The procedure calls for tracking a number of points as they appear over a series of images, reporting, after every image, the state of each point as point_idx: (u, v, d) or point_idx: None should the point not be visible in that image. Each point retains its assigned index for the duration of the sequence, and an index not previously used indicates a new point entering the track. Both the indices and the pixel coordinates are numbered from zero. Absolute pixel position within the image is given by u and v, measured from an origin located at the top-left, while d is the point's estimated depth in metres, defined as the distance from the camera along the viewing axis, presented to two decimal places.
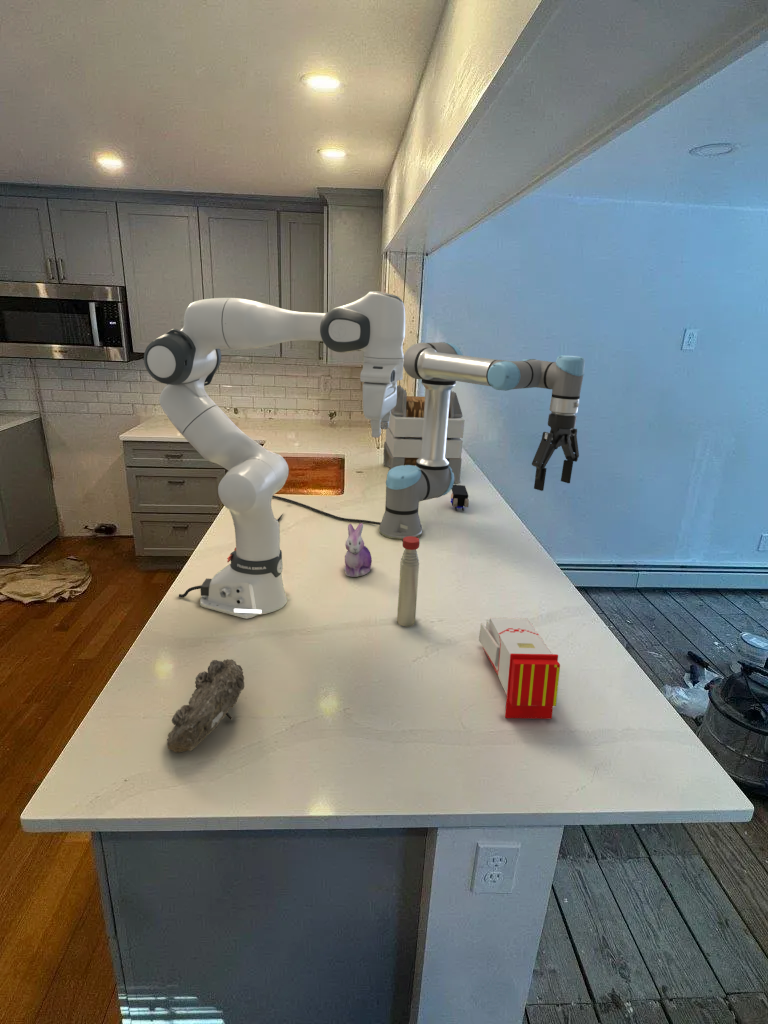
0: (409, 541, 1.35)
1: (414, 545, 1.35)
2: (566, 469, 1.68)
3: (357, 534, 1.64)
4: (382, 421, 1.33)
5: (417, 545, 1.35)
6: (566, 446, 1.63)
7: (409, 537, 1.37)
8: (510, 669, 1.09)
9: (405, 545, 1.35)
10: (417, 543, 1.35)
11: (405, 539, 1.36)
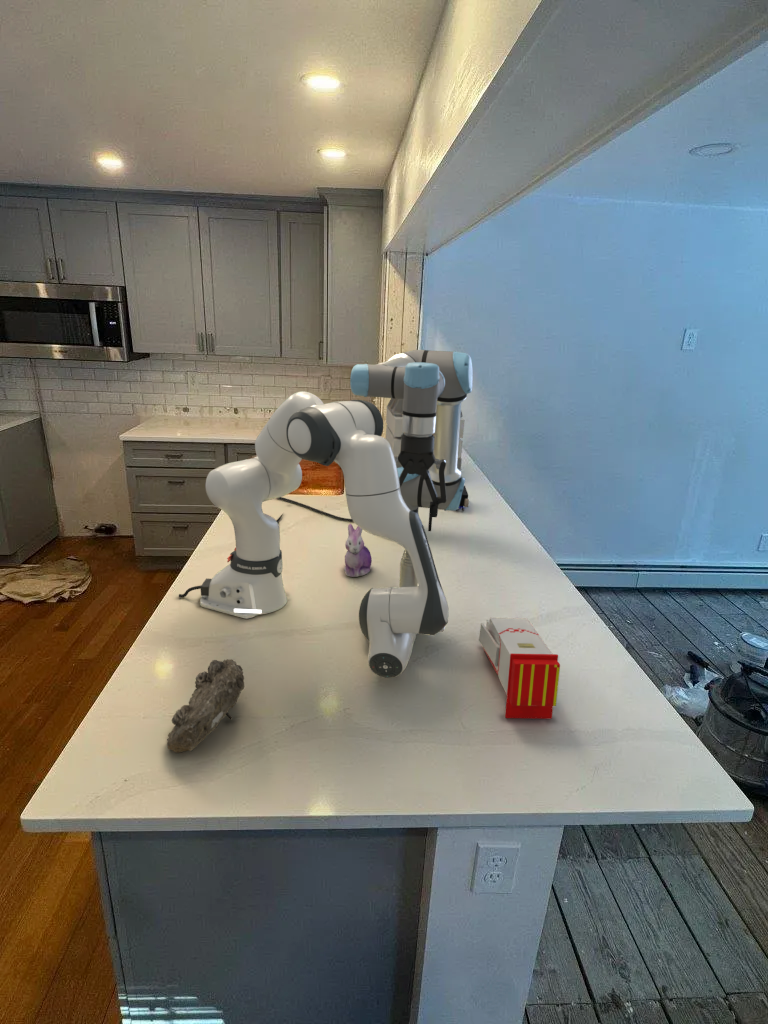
0: None
1: None
2: None
3: (357, 534, 1.64)
4: None
5: None
6: None
7: None
8: (510, 669, 1.09)
9: None
10: None
11: None
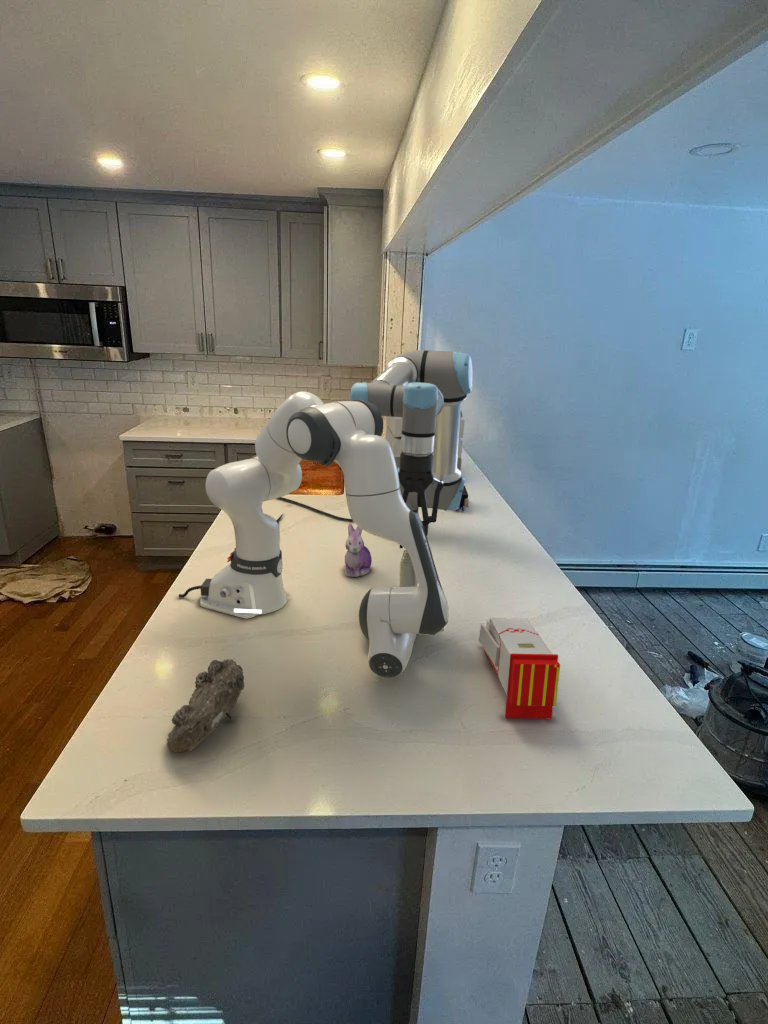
0: None
1: None
2: None
3: (357, 534, 1.64)
4: None
5: None
6: None
7: None
8: (510, 669, 1.09)
9: None
10: None
11: None
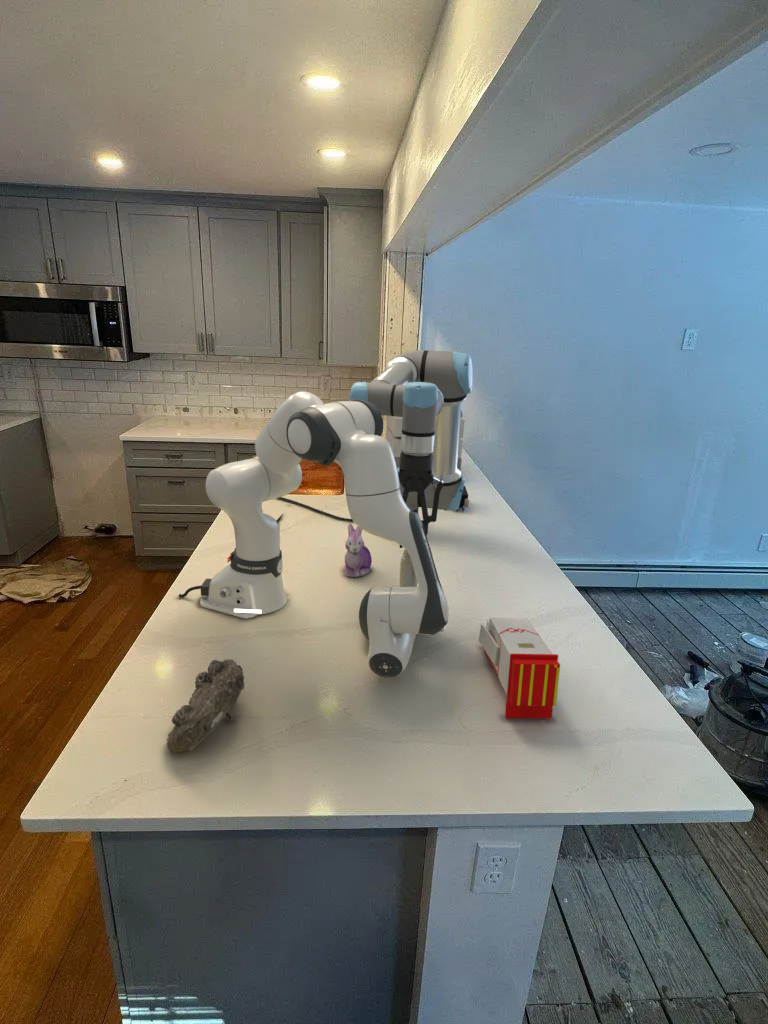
0: None
1: None
2: None
3: (357, 534, 1.64)
4: None
5: None
6: None
7: None
8: (510, 669, 1.09)
9: None
10: None
11: None
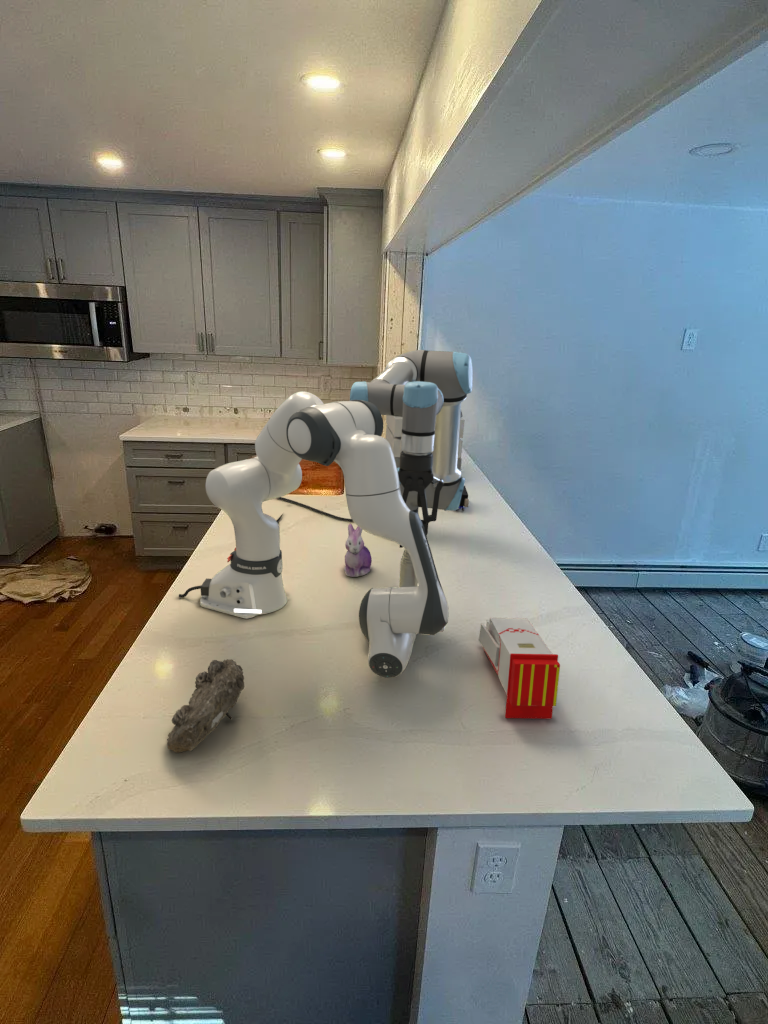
0: None
1: None
2: None
3: (357, 534, 1.64)
4: None
5: None
6: None
7: None
8: (510, 669, 1.09)
9: None
10: None
11: None
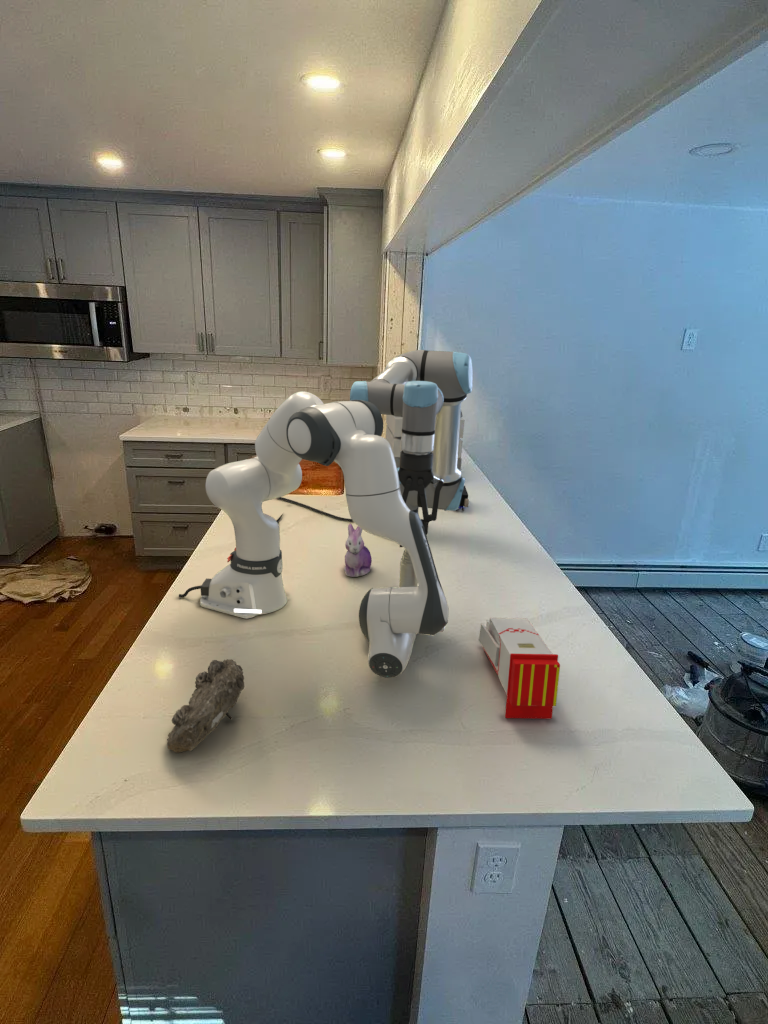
0: None
1: None
2: None
3: (357, 534, 1.64)
4: None
5: None
6: None
7: None
8: (510, 669, 1.09)
9: None
10: None
11: None
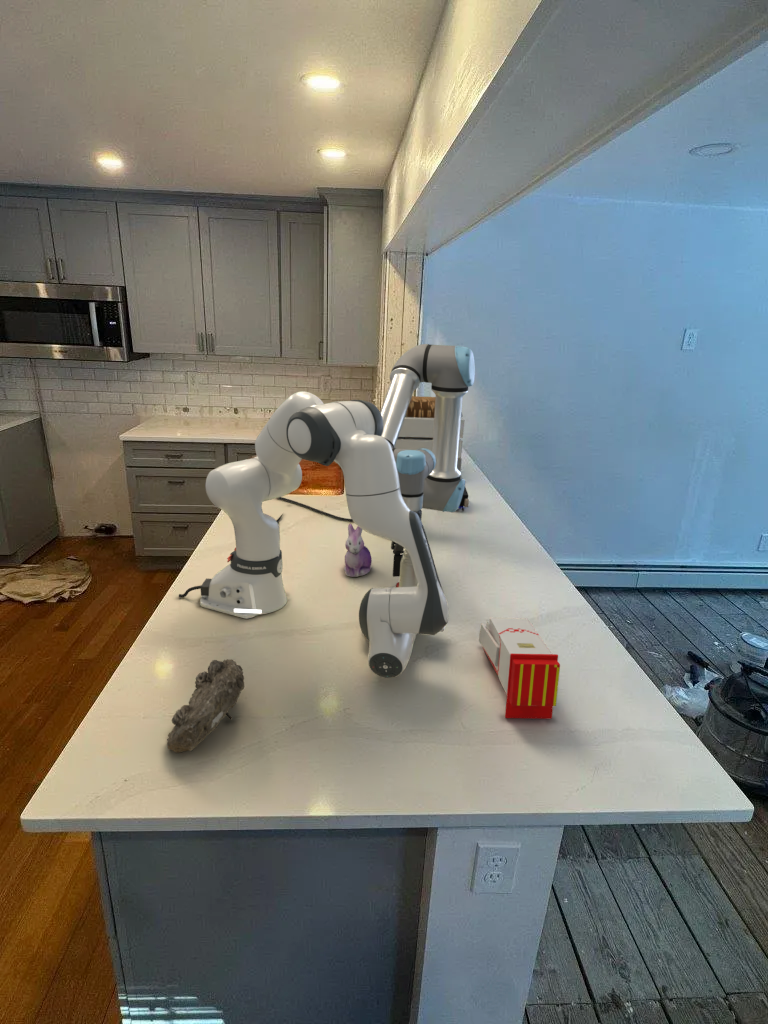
0: None
1: None
2: None
3: (357, 534, 1.64)
4: None
5: None
6: None
7: None
8: (510, 669, 1.09)
9: None
10: None
11: None
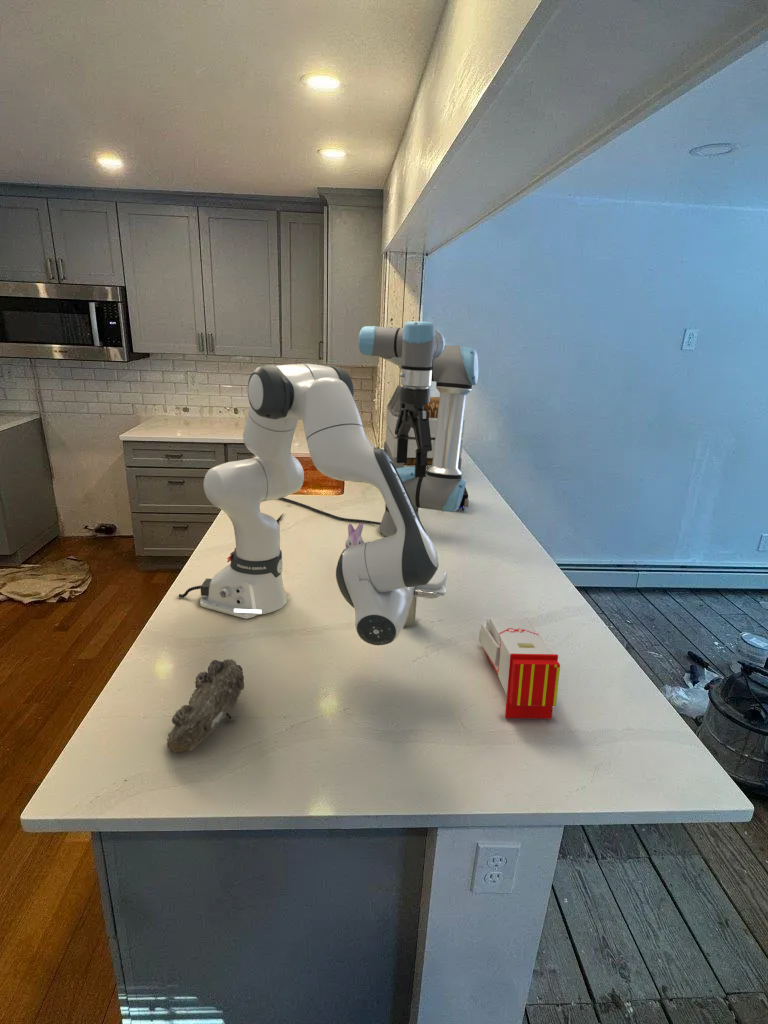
0: None
1: None
2: None
3: (357, 534, 1.64)
4: None
5: None
6: None
7: None
8: (510, 669, 1.09)
9: None
10: None
11: None
